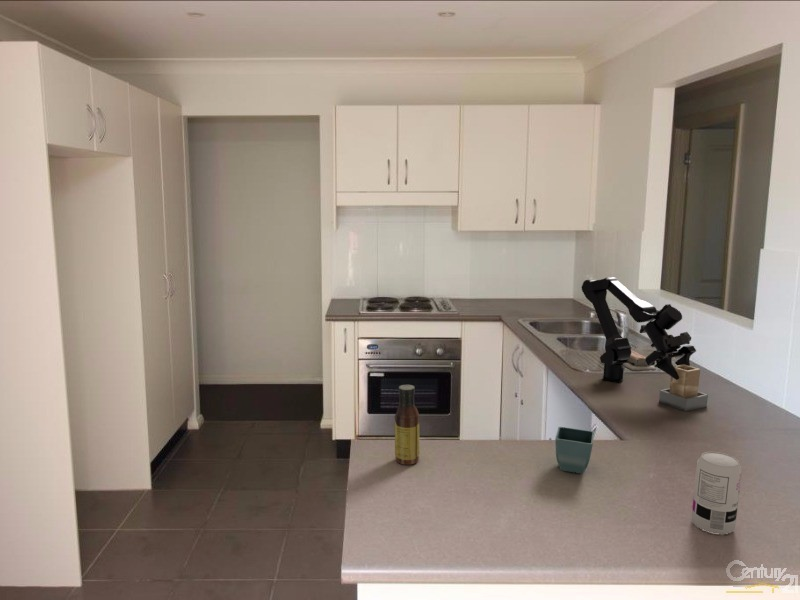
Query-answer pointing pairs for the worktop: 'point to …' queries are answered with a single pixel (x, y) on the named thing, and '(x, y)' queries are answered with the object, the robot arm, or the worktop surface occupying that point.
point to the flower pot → (573, 449)
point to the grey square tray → (683, 400)
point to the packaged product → (637, 362)
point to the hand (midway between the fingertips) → (684, 377)
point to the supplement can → (716, 492)
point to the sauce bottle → (407, 427)
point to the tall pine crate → (685, 381)
